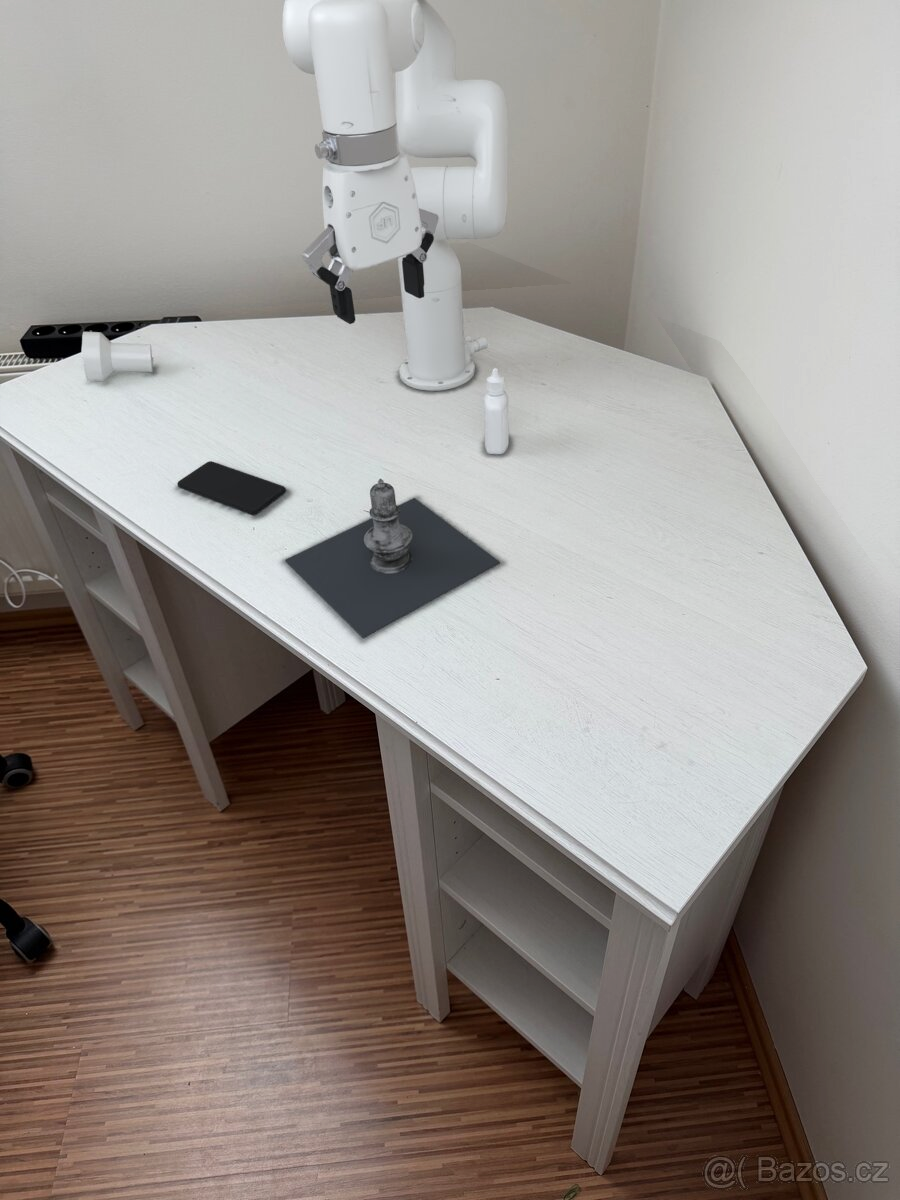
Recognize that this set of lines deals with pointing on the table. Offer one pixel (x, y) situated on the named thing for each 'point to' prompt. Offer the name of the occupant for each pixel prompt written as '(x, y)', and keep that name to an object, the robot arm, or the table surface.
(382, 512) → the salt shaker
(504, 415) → the eye dropper bottle
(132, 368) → the spotlight
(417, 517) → the mat
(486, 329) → the table surface
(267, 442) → the table surface
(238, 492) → the smartphone
